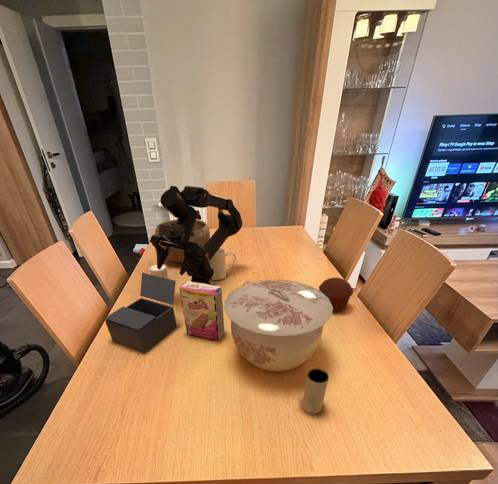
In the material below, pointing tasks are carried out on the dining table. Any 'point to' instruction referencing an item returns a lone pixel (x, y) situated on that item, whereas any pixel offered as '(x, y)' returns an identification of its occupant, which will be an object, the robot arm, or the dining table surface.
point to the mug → (220, 264)
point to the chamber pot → (277, 322)
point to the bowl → (199, 237)
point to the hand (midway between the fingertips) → (169, 271)
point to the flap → (157, 288)
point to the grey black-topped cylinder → (315, 390)
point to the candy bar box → (203, 310)
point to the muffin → (337, 292)
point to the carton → (141, 324)
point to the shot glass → (159, 271)
